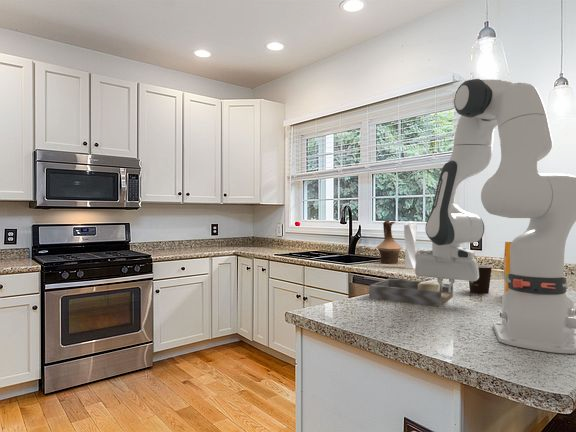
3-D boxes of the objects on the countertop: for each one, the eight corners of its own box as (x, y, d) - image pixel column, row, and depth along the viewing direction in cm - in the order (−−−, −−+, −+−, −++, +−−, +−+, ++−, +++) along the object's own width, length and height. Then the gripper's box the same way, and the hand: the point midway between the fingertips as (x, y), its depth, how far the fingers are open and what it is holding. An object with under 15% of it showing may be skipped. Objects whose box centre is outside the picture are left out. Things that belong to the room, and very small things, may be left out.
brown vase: (371, 262, 257) (371, 220, 257) (395, 261, 260) (395, 220, 260) (382, 264, 240) (382, 220, 240) (407, 264, 243) (407, 220, 243)
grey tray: (452, 296, 138) (452, 284, 139) (440, 306, 122) (440, 292, 122) (388, 289, 152) (388, 278, 152) (369, 298, 135) (369, 285, 135)
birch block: (439, 294, 134) (439, 283, 134) (435, 297, 129) (435, 285, 129) (422, 292, 138) (422, 281, 138) (417, 295, 133) (417, 283, 133)
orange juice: (535, 301, 131) (535, 243, 131) (506, 299, 135) (505, 242, 135) (531, 297, 138) (531, 241, 138) (503, 295, 142) (503, 241, 142)
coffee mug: (495, 294, 143) (495, 267, 143) (470, 293, 144) (470, 267, 144) (485, 289, 154) (485, 264, 154) (462, 288, 156) (462, 263, 156)
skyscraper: (416, 270, 216) (416, 220, 217) (402, 269, 221) (402, 220, 221) (420, 268, 224) (419, 220, 224) (406, 267, 228) (405, 220, 228)
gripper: (412, 250, 134) (412, 289, 134) (477, 253, 122) (477, 296, 122) (417, 249, 139) (417, 287, 139) (479, 252, 128) (479, 293, 128)
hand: (445, 291), depth 131 cm, fingers closed
